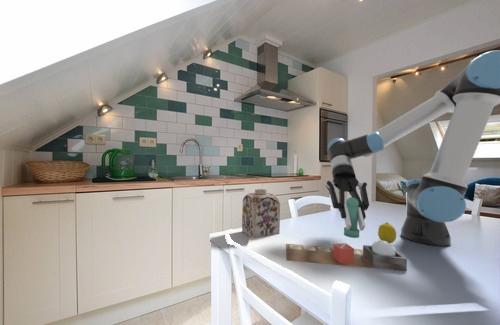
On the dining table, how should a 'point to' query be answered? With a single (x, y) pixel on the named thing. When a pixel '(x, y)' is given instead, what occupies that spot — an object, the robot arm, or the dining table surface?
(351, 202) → the pawn
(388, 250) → the dome
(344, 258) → the red cube
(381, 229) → the lemon
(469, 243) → the dining table surface
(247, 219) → the decorative jar
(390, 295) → the dining table surface
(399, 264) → the board
